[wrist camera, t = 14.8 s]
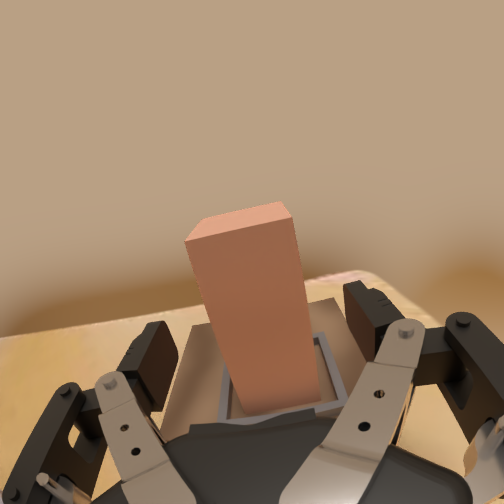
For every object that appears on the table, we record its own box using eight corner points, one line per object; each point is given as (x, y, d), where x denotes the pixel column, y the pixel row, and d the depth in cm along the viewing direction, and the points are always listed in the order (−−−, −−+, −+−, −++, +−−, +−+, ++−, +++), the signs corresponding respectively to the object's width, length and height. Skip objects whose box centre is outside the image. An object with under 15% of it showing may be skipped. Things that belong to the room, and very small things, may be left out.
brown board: (164, 449, 16) (157, 440, 15) (196, 334, 30) (192, 325, 30) (386, 415, 15) (388, 404, 14) (334, 307, 29) (333, 297, 28)
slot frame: (220, 434, 15) (216, 427, 15) (228, 357, 23) (225, 350, 23) (350, 411, 15) (350, 404, 15) (324, 338, 23) (323, 331, 22)
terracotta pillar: (245, 414, 17) (184, 241, 13) (246, 367, 21) (202, 219, 18) (321, 400, 16) (292, 217, 13) (309, 355, 21) (280, 200, 17)
